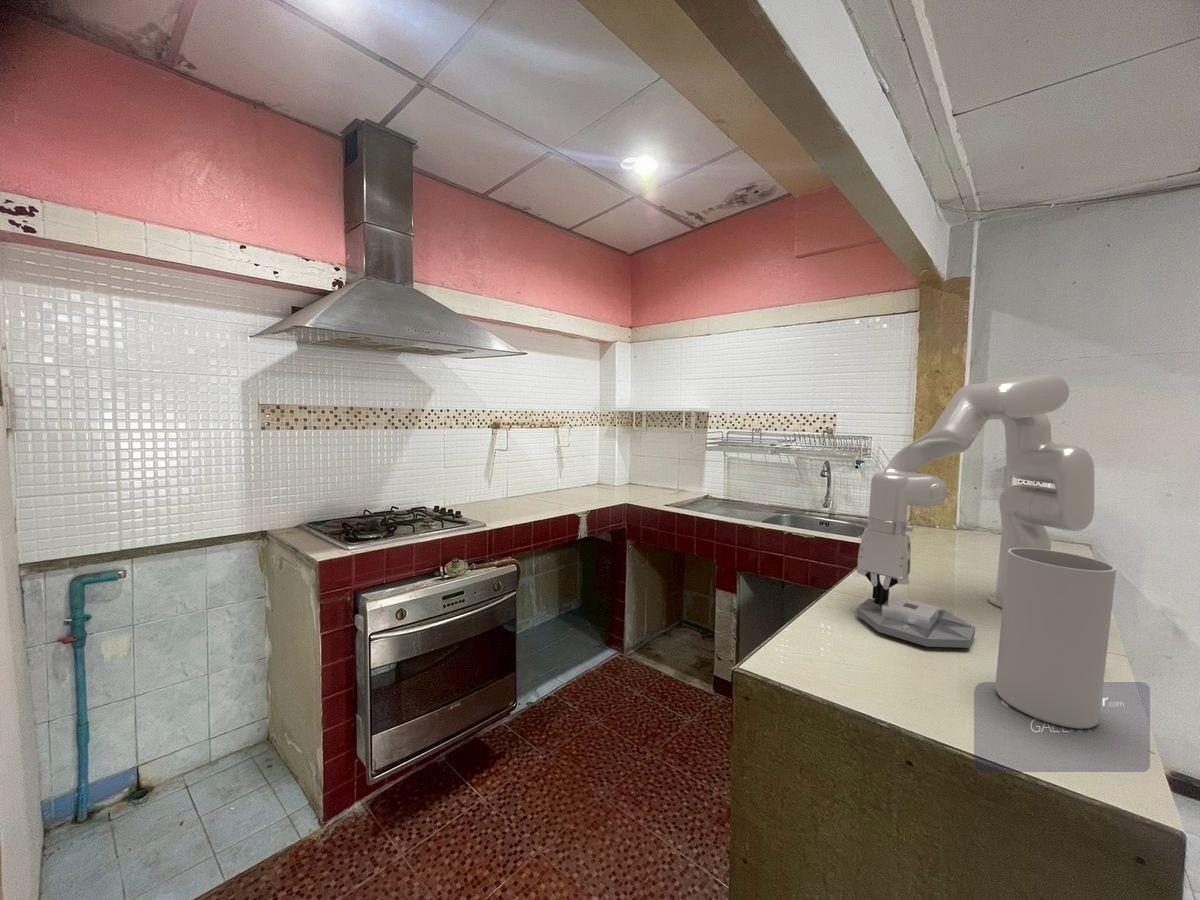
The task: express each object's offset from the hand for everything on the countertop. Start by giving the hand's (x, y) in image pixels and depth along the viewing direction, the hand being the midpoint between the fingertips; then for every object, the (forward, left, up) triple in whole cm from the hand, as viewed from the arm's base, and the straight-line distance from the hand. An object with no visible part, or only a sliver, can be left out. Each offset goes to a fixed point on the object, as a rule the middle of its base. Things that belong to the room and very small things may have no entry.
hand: (879, 602), depth 110 cm
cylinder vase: (-29, +18, -4) cm, 34 cm away
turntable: (-7, 0, -4) cm, 8 cm away
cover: (-6, 0, -1) cm, 6 cm away
